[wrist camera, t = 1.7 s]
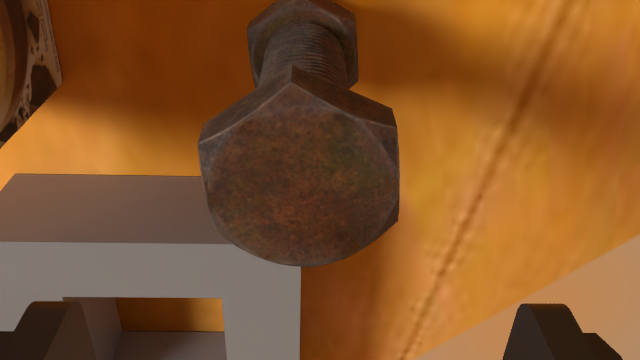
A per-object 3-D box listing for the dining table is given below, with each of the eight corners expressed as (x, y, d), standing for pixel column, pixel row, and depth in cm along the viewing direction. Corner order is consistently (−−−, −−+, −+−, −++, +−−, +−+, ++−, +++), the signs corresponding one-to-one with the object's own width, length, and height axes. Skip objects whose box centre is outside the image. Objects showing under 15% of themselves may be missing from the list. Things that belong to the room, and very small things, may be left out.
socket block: (302, 177, 32) (301, 244, 27) (299, 366, 41) (298, 444, 36) (14, 173, 32) (-41, 241, 27) (73, 365, 40) (39, 444, 35)
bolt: (325, -64, 25) (342, 53, 13) (383, 28, 28) (447, 205, 15) (224, 11, 27) (150, 180, 14) (286, 91, 29) (271, 298, 17)
